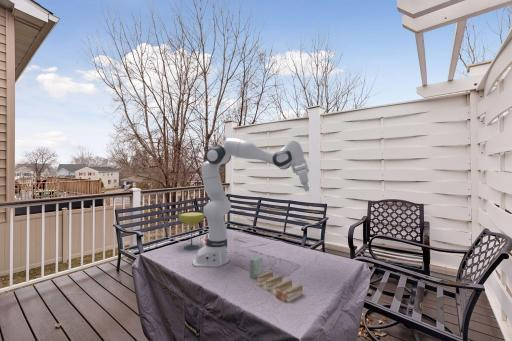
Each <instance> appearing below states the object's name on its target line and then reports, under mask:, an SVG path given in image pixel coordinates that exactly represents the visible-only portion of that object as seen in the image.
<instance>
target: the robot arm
mask: <svg viewBox="0 0 512 341" xmlns="http://www.w3.org/2000/svg"><path fill="white" fill-rule="evenodd" d="M302 148H303V147H302V146H301V144H300V143H299V142H298V141H295V140H292V141H288V142H286V143H285V145H284V146H283V147H282V148H281V149H279V150H278V151H276V152H275V153H273V152H269V151H268V150H267V151H266V150H264V149H263V148H262V149H261V148H260V147H259V146H257V145H255V143H252V142H251V141H248V140H245V139H242V138H236V137H228V138H226V139H224V142H223V144H222V145H221V144H219V145H215V146H212V147H210V148H208V149H207V150H206V152H205V159H206V161H204V162H203V163H202V164H201V166H200V169H201V170H200V172H201V178H202V183H203V187H204V191H205V193H206V194H207V196H208V197H209V199H210V201H208V202H207V203H206V204H205V205H204V207H203V210H202V212H203V213H204V217H206V220H207V224H208V238H207V237H206V238H204V244H205V245H203V246H202V247H201V248H200V249H199V248H198V249H199V250H198V249H197V250H198V251H197V252H196V256H195V257H194V258H193V259H192V265H193V267H196V268H198V267H199V268H200V267H201V268H202V267H203V268H204V267H206V268H211V267H212V268H213V267H215V268H218V267H219V268H220V267H222V266H223V265H225V264H228V263H229V262H230V261H229V260H230V259H229V254H228V235H227V229H228V228H227V224H226V222H225V219H224V217H225V215H226V214H228V213H229V212H230V210H231V207H232V203H231V201H230V200H229V198H228V197H227V195H226V193H225V190H224V187H223V184H222V179H221V174H220V168H222V167H224V166H225V165H226V164H228V163H230V161H231V160H232V156H234V157H236V158H241V159H247V160H257V161H263V162H267V163H270V164H273V165H274V166H276V167H277V168H278V169H280V170H284V171H285V170H288V169H289V168H290V167H291V170H292V173H293V174H295V175H296V176H298V179H299V182H300V184H301V185H302V186H303V189H304V191H305V192H309V191H310V189H309V183H308V182H309V176H308V170H309V166H308V164H307V160H306V159H305V156H304V151H303V149H302Z"/></svg>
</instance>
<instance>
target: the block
mask: <svg viewBox="0 0 512 341" xmlns="http://www.w3.org/2000/svg"><path fill="white" fill-rule="evenodd" d="M261 274H263V257H261V256H256V257H255V256H254V257H251V258H249V278H250V279H252V280H254V279H255V280H256V279H257V276H259V275H261Z"/></svg>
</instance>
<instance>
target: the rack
mask: <svg viewBox="0 0 512 341" xmlns="http://www.w3.org/2000/svg"><path fill="white" fill-rule="evenodd" d="M256 284H257V285H256V286H259V287H260V288H262V289H264V290H266V291H267V292H270V293H271V294H273V295H275V298H276V299H279V301H282V302H288V303H290V302H291V301H293V300H295V299H297V298H299V297H301V296H303V293H304V292H303V287H304V285H303V284H300V283H299V284H297V285H295V286H293V280H292V279H291V278H289V279H286V280H284V281H283V275H281V274H279V275H276V276H274V271H272V270H269V271H266V272H263V273H262V274H261V275H259V276H257V278H256Z"/></svg>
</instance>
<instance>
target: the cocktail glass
mask: <svg viewBox="0 0 512 341" xmlns="http://www.w3.org/2000/svg"><path fill="white" fill-rule="evenodd" d="M204 219H205V215H204V212H203V211H198V210H197V211H196V210H195V211H194V210H191V211H183V212H180V213H179V214H178V220H179V221H180V222H182V223H184V224H186V225H188V226H189V227H190V244H188V245H185V246H183V249H184V250H185V249H186V251H193V250H198V249H199V248H200V246H199V245H197V244H193V227H195V225H196V224H198V223H200V222H202V221H203V220H204Z"/></svg>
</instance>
